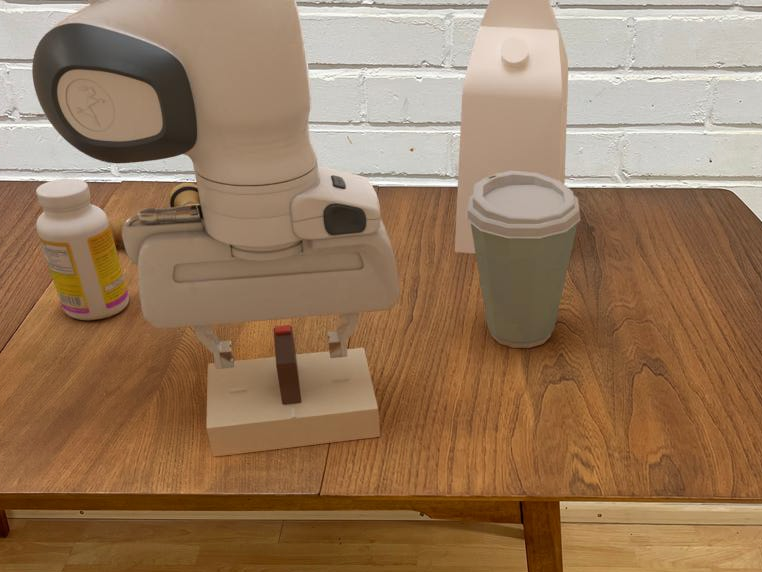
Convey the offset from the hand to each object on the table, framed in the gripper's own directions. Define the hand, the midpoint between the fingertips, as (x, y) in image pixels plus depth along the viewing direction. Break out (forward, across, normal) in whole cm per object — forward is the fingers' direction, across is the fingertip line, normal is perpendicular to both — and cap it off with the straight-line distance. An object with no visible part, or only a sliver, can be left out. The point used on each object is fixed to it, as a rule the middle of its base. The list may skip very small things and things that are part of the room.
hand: (282, 359), depth 75 cm
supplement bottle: (+6, -19, +23) cm, 30 cm away
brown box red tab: (+2, 0, 0) cm, 2 cm away
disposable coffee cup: (+5, +23, +9) cm, 26 cm away
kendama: (+6, -10, +39) cm, 41 cm away
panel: (+6, 0, 0) cm, 6 cm away
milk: (+6, +28, +32) cm, 43 cm away
